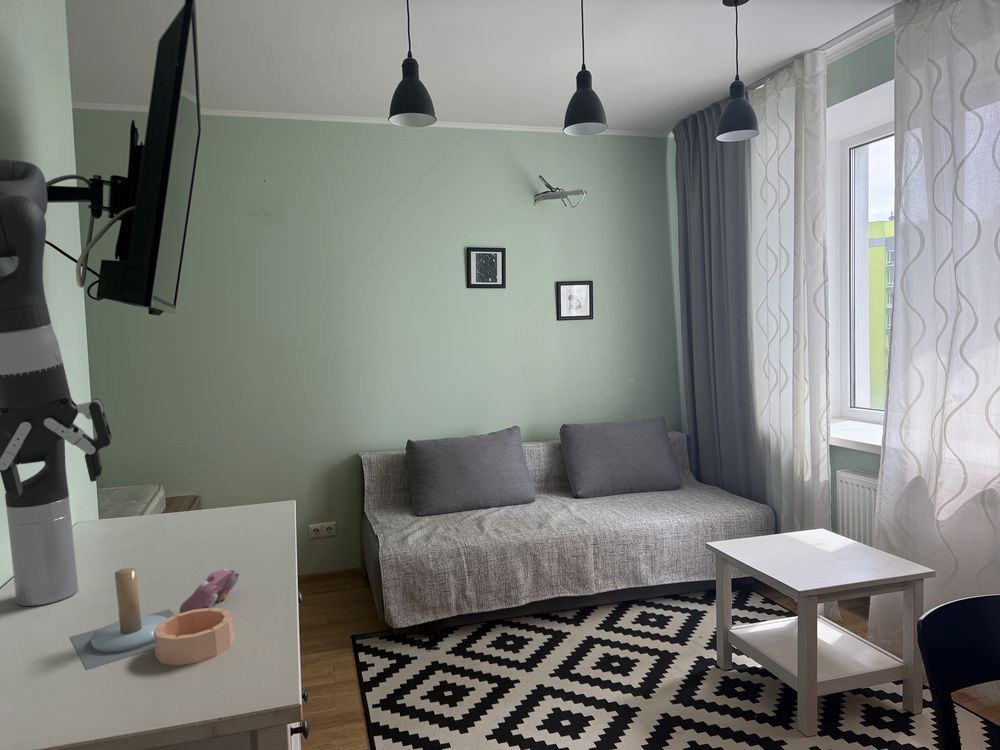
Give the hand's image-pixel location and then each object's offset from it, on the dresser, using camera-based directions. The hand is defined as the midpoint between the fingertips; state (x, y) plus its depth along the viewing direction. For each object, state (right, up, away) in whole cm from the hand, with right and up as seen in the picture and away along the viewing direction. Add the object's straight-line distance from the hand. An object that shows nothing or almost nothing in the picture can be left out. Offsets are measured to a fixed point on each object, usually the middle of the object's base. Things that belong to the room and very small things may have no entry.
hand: (56, 486), depth 89 cm
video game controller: (+9, -24, +26) cm, 37 cm away
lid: (+2, -25, +15) cm, 29 cm away
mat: (+2, -25, +15) cm, 29 cm away
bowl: (+14, -25, +10) cm, 30 cm away
